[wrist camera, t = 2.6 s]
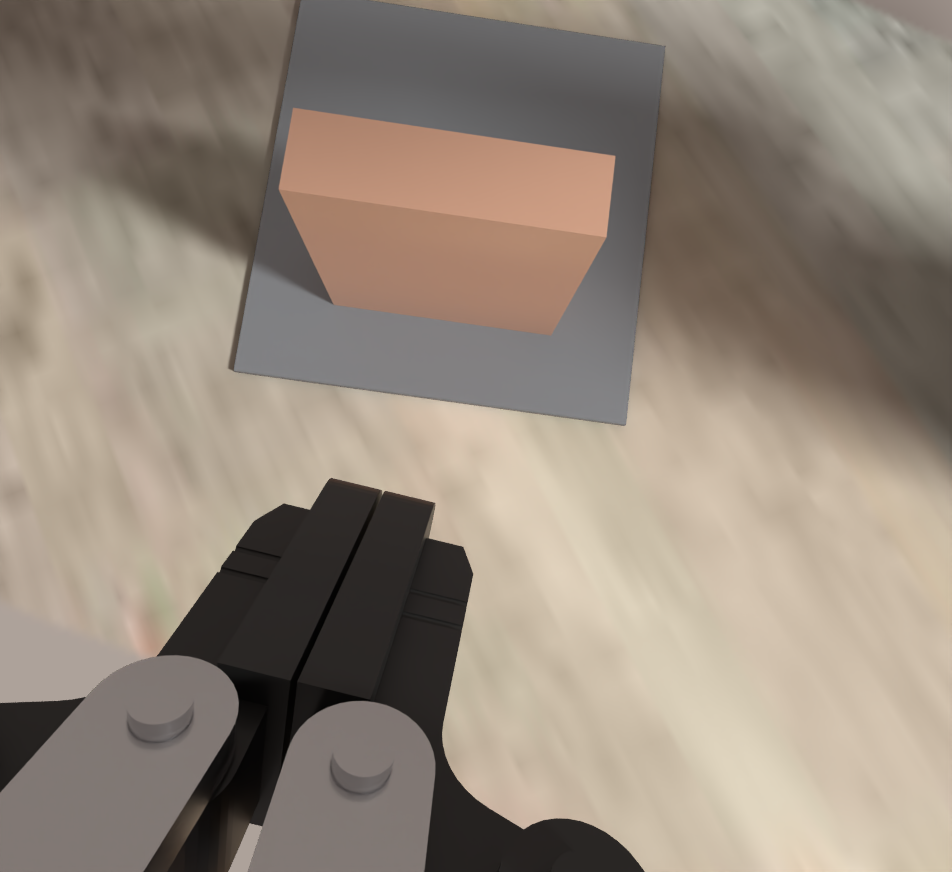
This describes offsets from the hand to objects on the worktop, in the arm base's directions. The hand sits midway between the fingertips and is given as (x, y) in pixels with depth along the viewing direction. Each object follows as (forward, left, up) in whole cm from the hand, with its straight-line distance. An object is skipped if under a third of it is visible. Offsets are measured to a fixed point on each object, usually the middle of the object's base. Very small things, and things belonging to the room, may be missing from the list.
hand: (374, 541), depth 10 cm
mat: (-7, -12, -18) cm, 23 cm away
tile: (-5, -9, -18) cm, 21 cm away
